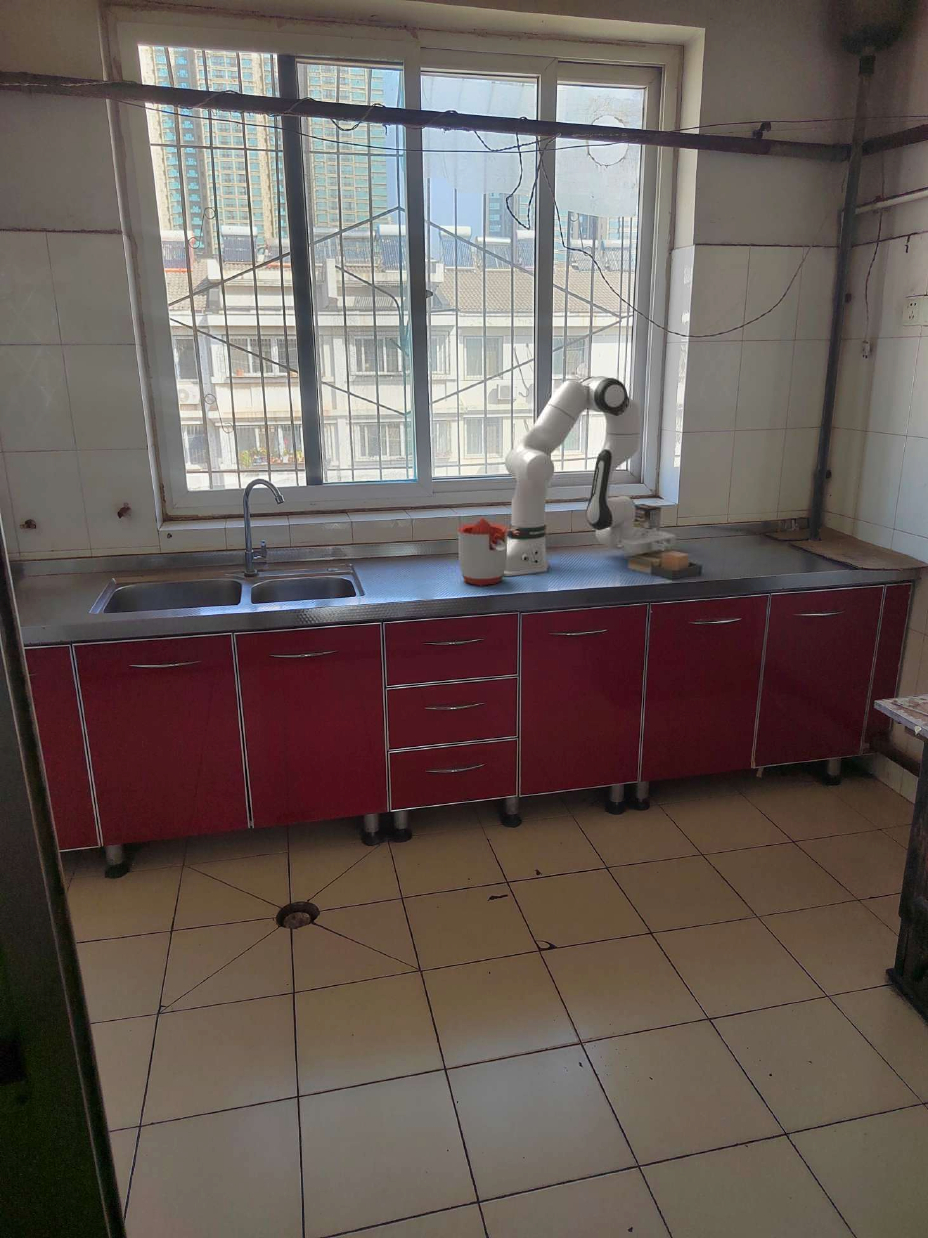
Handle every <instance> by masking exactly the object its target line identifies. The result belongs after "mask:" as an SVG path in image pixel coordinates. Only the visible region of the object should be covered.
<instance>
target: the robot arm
mask: <svg viewBox="0 0 928 1238" xmlns="http://www.w3.org/2000/svg"><path fill="white" fill-rule="evenodd" d="M585 410H590V411H594V412H596V413H603V415H604V417H605V423H606V425H605V437H604V442H603V446H602V449H601V450H600V452H599V453H598V455H597V458H596V461H595V466H594V471H593V472H594V473H593V479H592V485H591V491H590V494H589V495H590V496H589V501H588V502H587V506H586V510H585V518H586V521H587V523H588V524H589V525H590V527H591V528H593V529H594V530H595V537H596V540H598V542H599V543H600V544H602V545H603V546H605V547H608V548H611V549H615V550H621V551H623V552H624V553H627V554H631V555H637V554H642V553H643V552H648V551H653V550H658V551H668V550H669V551H670V549H671V548H672V547H675V546H676V541H677V537H676V535H675V534H672V533H669V532H666V531H661V530H659V531H657V529H655V528H641V527H634V524H635V519H636V504H635V502H634V500H633V499H632V498H631V497H629V496H628V495H620V496H614V497H610V498H609V494H610V487H611V483H612V477H613V474H614V472H615V470H616V469H617V468H619V467H620V466H621V465H622V464H624V463H625V462H627V461H629V460H630V459H631V458H632V457H634V455H635V454H636V453H637V451H638V450H639V445H640V430H641V429H640V428H641V424H640V421H641V420H640V410H639V405H638V403H637V402H636V401H635V400H633V399H631V398H630V397H629V395H628V391H627V389H626V386H625V385H624V383H623V382H622V381H620V380H619V379H617V378H614V377H607V376H602V375H601V376H599V375H598V376H589V377H586V378H585V379H583V380H582V381H577V380H574V379H568V380H565V381H564V382H563V383H562V384H561V385H560V386H559V387H558V388H557V389H556V391H554V393H553V395H552V396H551V397H550V399H549V401H548V402H547V403H546V405H545V406H544V408H543V409H542V410H541V412H540V414H539V416H538V418H537V419H536V421H535V422H534V424H533V425H532V426H531V428H530V429H529V430H528V431H527V432H526V434H525V435H524V436H523V437H522V438H521V439H520V441H519V442H518V443H517V444H516V445H515V447H514V448H512V449H511V450H510V451H508V453H507V454H506V456H505V459H504V466H505V468H506V471H507V472H508V474H509V475H510V476H511V477H512V478H514V479H515V480H516V486H515V491H514V495H513V498H512V499H511V516H510V517H511V522H510V523H511V524H510V525H509V527H508V530H507V561H506V567H505V571H504V575H503V577H505V576H506V577H512V576H519V575H529V574H535V573H543V572H547V571H548V568H549V567H550V564H549V562H548V557H547V556H548V555H547V549H546V536H547V525H546V519H545V518H546V500H547V499H546V498H547V495H548V492H549V491H548V490H549V485H550V482H551V480H552V478H553V476H554V474H555V465H554V462H553V460H552V459H551V458H550V455H552V453H554V451H555V450H557V449H558V448H559V447H561V446H562V445H563V444H564V442H565V441H566V439H567V437H568V435H570V432H571V431H572V429H573V427H574V426H575V425H576V422H577V421H578V419H579V418H580V416H581V414H582V413H583V412H584V411H585Z"/></svg>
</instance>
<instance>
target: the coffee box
mask: <svg viewBox="0 0 928 1238" xmlns="http://www.w3.org/2000/svg"><path fill="white" fill-rule="evenodd" d="M635 505H636V519H635V524H634V527H641V528H655V529H657V531H660V529H661V528H660V527H661V515H662V513H661V511H662V507H661V506H655V505H650V504H644V503H640V504H639V503H638V504H635ZM653 551H656V552H659V550H653ZM648 552H652V551H648ZM644 553H647V552H644Z"/></svg>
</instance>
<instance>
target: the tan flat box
mask: <svg viewBox="0 0 928 1238" xmlns="http://www.w3.org/2000/svg"><path fill="white" fill-rule="evenodd" d="M662 553H663V552H659V551H652V552H647V553H639V554H631V555H628V564H627V569H631V570H634V569H635V570H634V571H638V572H641V571H642V573H646V574H648V575H651V565H655V566H658V567H661V557H662Z"/></svg>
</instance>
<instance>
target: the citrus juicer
mask: <svg viewBox="0 0 928 1238" xmlns="http://www.w3.org/2000/svg"><path fill="white" fill-rule="evenodd" d="M508 529H509V527H507V526H506V525H502V524H497V523H489V522H488V521H487V520H486V519H485V518H481V519H479V520H478V522H476V523H470V524H469V523H468V524H464V525H460V526H459V527H457V533H458V534H457V535H458V537H457V538H458V563H459V568H460V571H461V575H462V578H463V580H464V581H465V583H467V584H471V585H477V586H479V585H483V586H485V585H486V586H487V585H488V586H489V585H494V584H497V583H500V582H502V580H503V577H504V576H503V575H504V571H505V567H506V561H507V530H508Z"/></svg>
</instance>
